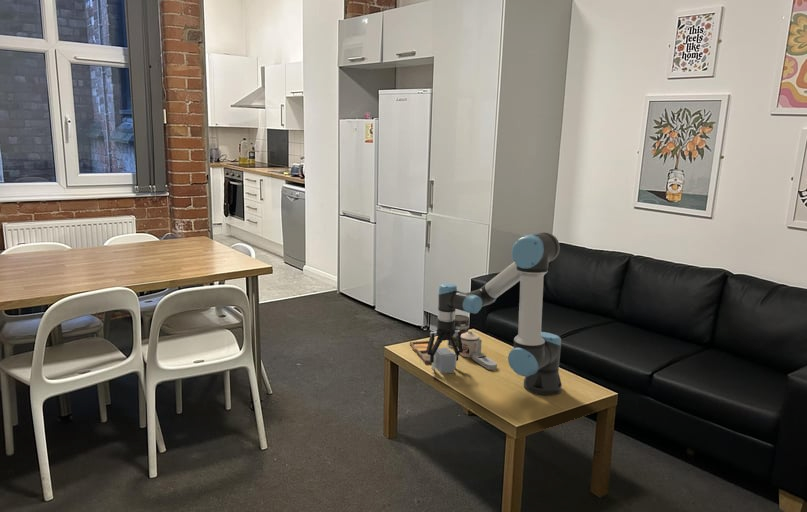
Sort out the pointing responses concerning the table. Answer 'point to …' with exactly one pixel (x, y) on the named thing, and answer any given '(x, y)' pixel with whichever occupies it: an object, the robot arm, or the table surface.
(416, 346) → the tray
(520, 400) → the table surface
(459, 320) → the coffee can
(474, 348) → the teacup with lid
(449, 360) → the grey paneled block
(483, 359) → the electronic device
